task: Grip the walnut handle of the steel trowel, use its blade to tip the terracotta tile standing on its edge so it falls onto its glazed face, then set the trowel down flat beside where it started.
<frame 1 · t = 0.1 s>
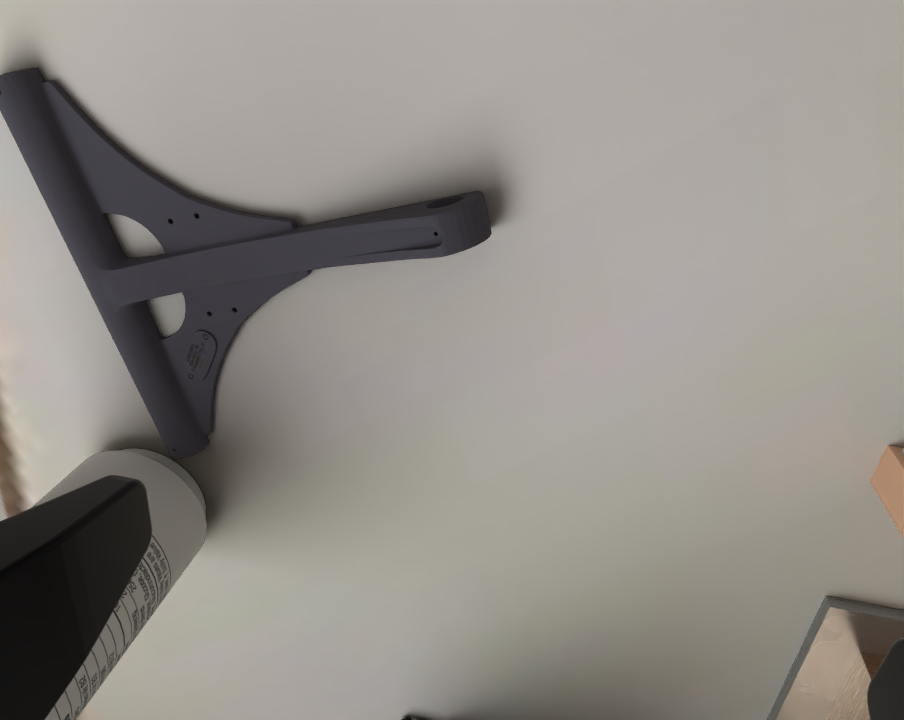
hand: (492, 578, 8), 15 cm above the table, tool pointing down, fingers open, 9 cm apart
bracket: (286, 246, 24), on the table
trowel: (863, 711, 28), on the table
energy drink can: (155, 492, 29), on the table
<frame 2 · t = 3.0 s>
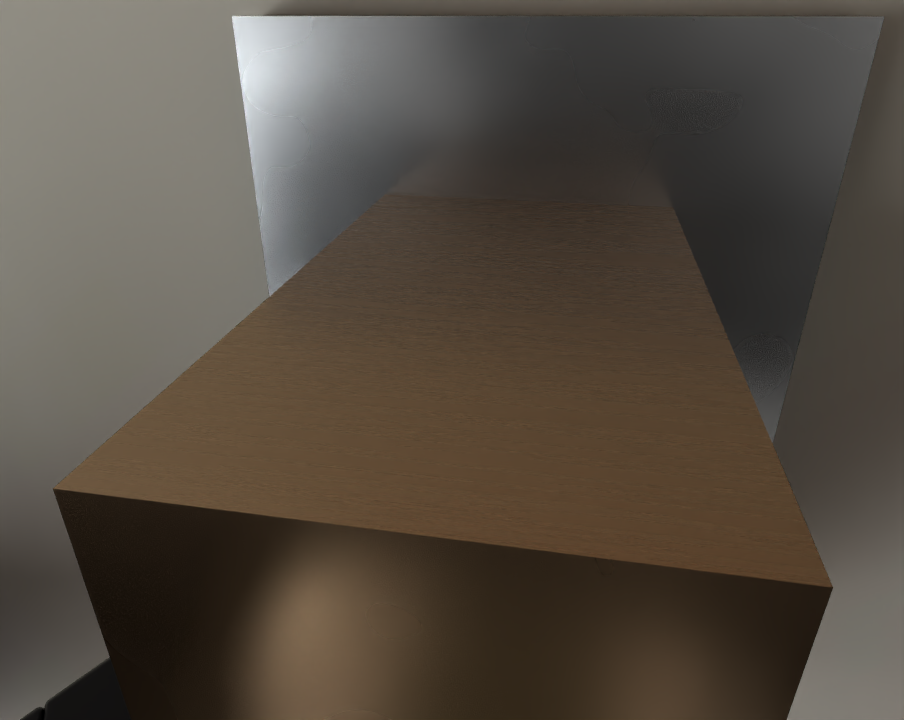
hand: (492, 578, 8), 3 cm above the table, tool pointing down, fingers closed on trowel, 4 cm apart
trowel: (516, 438, 11), on the table, touching gripper
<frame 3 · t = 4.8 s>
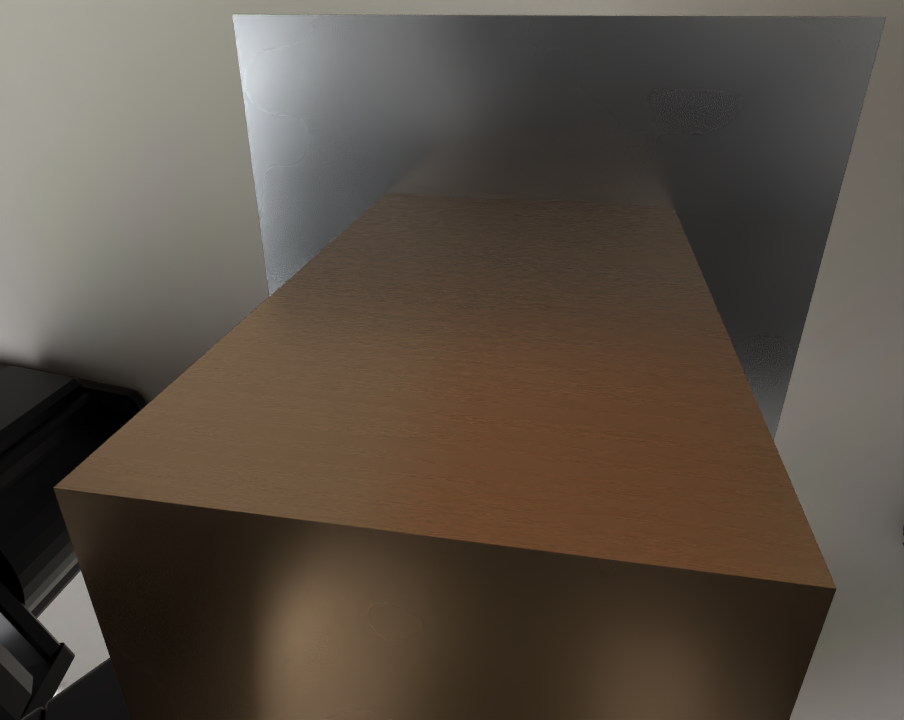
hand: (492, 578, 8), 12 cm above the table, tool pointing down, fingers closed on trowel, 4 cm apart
trowel: (516, 438, 11), point 9 cm above the table, touching gripper
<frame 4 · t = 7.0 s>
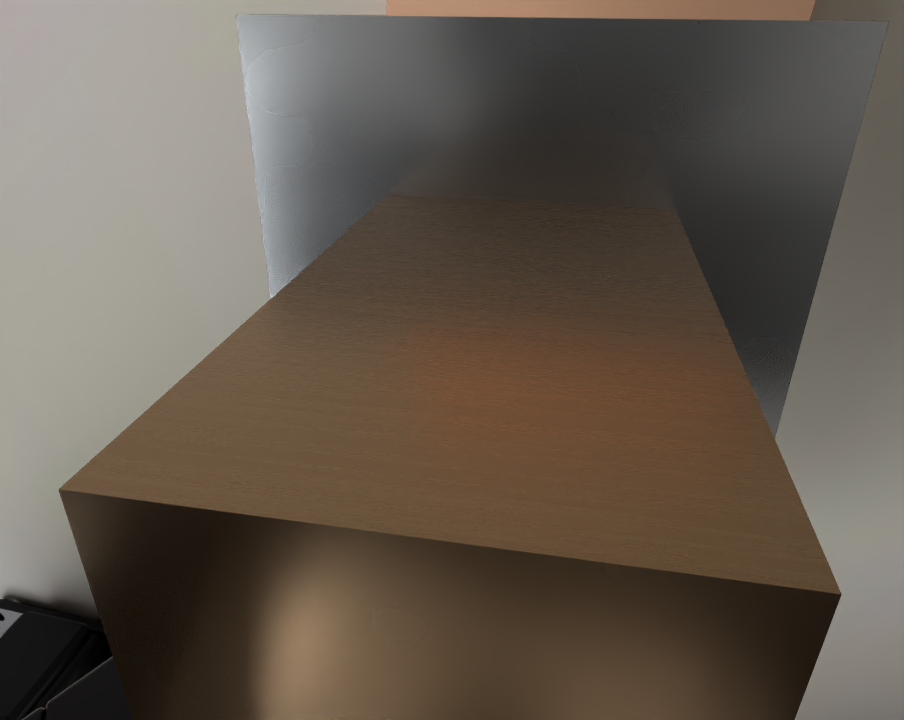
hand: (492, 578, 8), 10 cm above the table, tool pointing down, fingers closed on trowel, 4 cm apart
tile: (565, 151, 15), on the table, tilted 90°
trowel: (515, 439, 11), point 7 cm above the table, touching gripper
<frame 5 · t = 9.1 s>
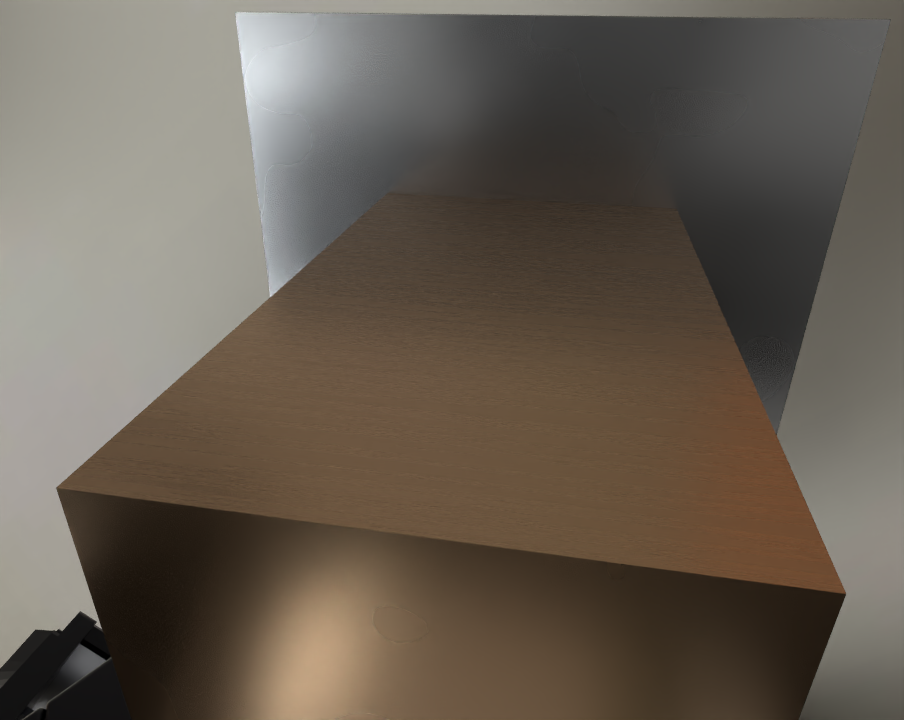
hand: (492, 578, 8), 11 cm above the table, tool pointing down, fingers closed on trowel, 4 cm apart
trowel: (516, 439, 11), point 8 cm above the table, touching gripper
when the fingers open (3 cm above the table, at t = 10.7 s): trowel stays where it is, on the table.
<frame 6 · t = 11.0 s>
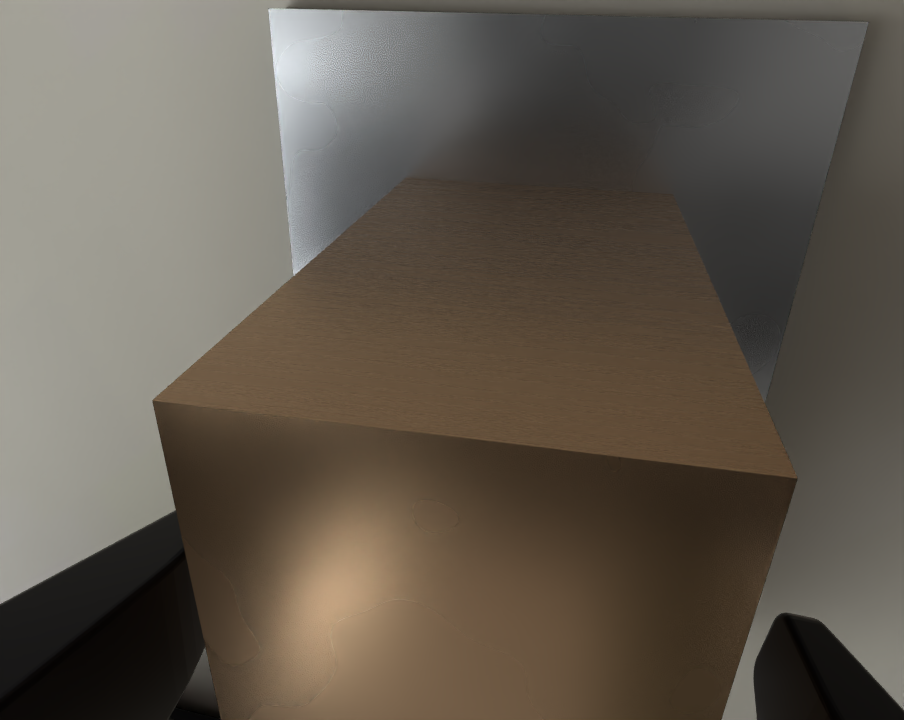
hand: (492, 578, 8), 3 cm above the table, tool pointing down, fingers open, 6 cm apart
trowel: (520, 413, 11), on the table
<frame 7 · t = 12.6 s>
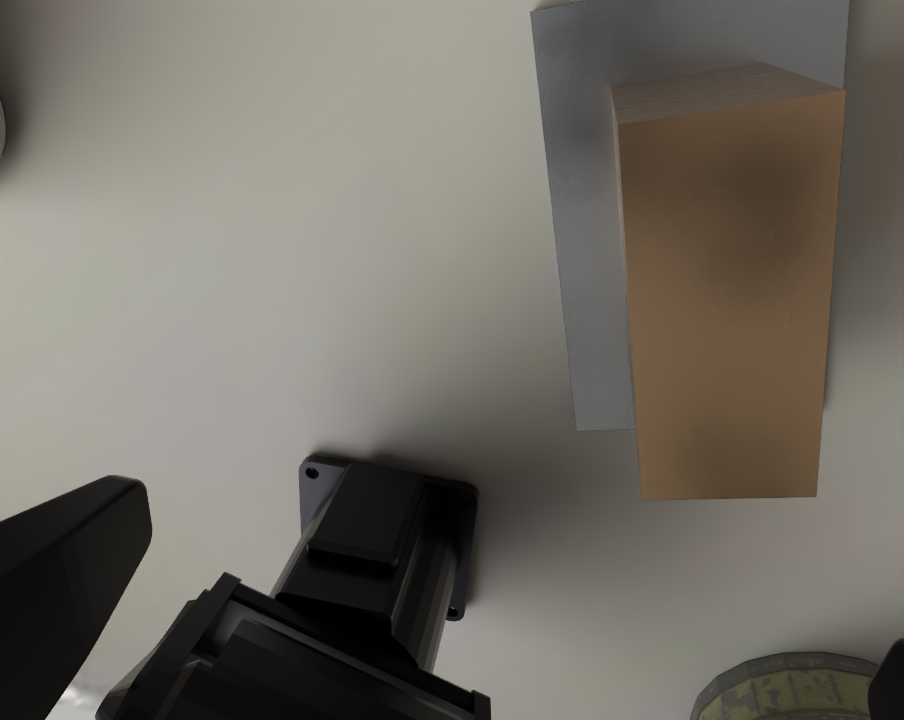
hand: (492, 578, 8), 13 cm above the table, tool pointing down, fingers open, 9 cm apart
trowel: (685, 227, 19), on the table
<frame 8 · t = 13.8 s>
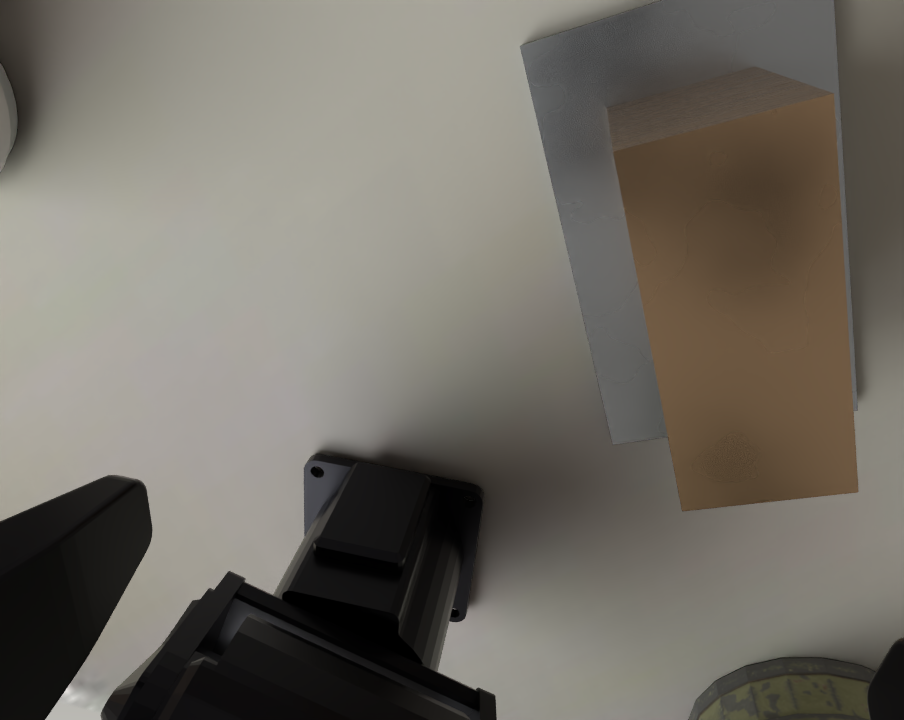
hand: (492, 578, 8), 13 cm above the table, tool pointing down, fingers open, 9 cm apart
trowel: (697, 233, 19), on the table
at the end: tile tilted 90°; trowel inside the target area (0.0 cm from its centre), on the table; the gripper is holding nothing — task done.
